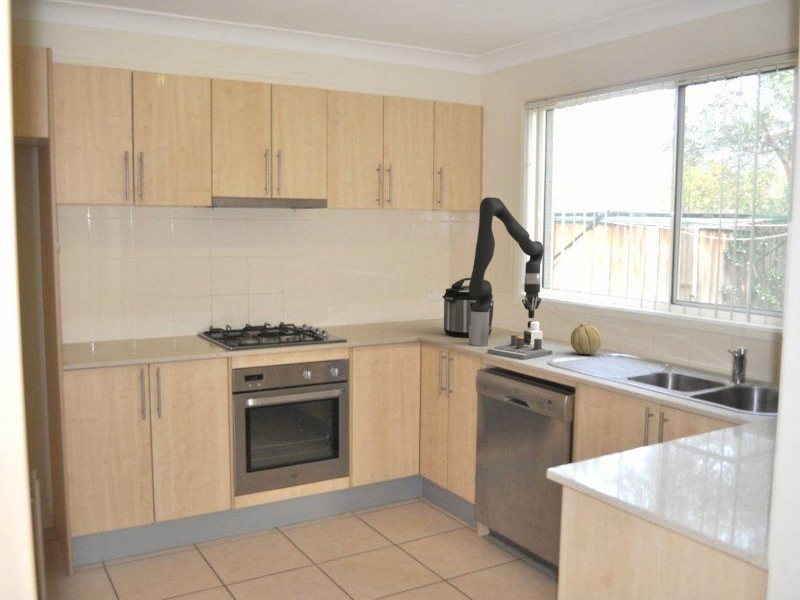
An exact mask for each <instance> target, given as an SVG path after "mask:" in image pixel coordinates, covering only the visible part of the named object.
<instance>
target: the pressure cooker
mask: <svg viewBox="0 0 800 600" xmlns="http://www.w3.org/2000/svg"><path fill="white" fill-rule="evenodd" d="M470 279H471V277H464V278H461V279H459V280H458V281H456V282H454V283H452V284H451V287H447V288H445V292H444V295H441V296H442V299H443V331H444V333H445V334H446V335H448V336H453V337H461V338H469V326H470V325H471V306H472V305H473V304H474V303H475V302H476V299H475V298H472V297H471V296H470V294H469V285H463V284H464V282H465V281H470ZM493 295H494V294H493V293H492V298H491V306H490V308H489V335H488V336H490V334H492V333H491V332H492V331H493V318H494V317H493V315H494V303H495V302H494V297H493Z"/></svg>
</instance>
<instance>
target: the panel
mask: <svg viewBox="0 0 800 600" xmlns="http://www.w3.org/2000/svg"><path fill="white" fill-rule="evenodd" d="M510 344H511V343H509V344H503V345H497V346H496V345H495V346H494V347H493V348H488V349H487V352H486V353H487V354H489V355H496V356H500V355H501V356H500V357H505V356H506V358H511V359H516V358H517V360H522V359H524V360H523V361H526V360H530V359H531V358H532V359H537V358H542V357H547V356H546V355H548V356H552V355H553V350H551V349H546V348H542V347H541V348H542V349H539V350H534V351H533V348H534V346H532V345H524V348H522V349H516V346H510ZM551 354H552V355H551ZM541 356H542V357H541ZM525 359H526V360H525Z"/></svg>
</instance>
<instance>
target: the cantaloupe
mask: <svg viewBox="0 0 800 600" xmlns="http://www.w3.org/2000/svg"><path fill="white" fill-rule="evenodd" d="M602 343H603V337H602V335H601V332H600V330H598V328H597V327H595V326H594V325H590V324H582V323H581V324H580V325H579V326H577V327H576V328H574V329H573V331H572V332H571V334H570V345H571V347H572V349H573V350H574V351H575V352H576V353H578V354H579V355H583V354H584V356H586V354H591V355H594V354H595V353H597V352H598V351H599V350H600V349H601V346H602Z"/></svg>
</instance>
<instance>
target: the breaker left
mask: <svg viewBox="0 0 800 600" xmlns="http://www.w3.org/2000/svg"><path fill="white" fill-rule="evenodd" d="M518 336H519V335H517V334H511V335H510V343H509V344H510V346H516V342H517V338H516V337H518Z"/></svg>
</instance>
